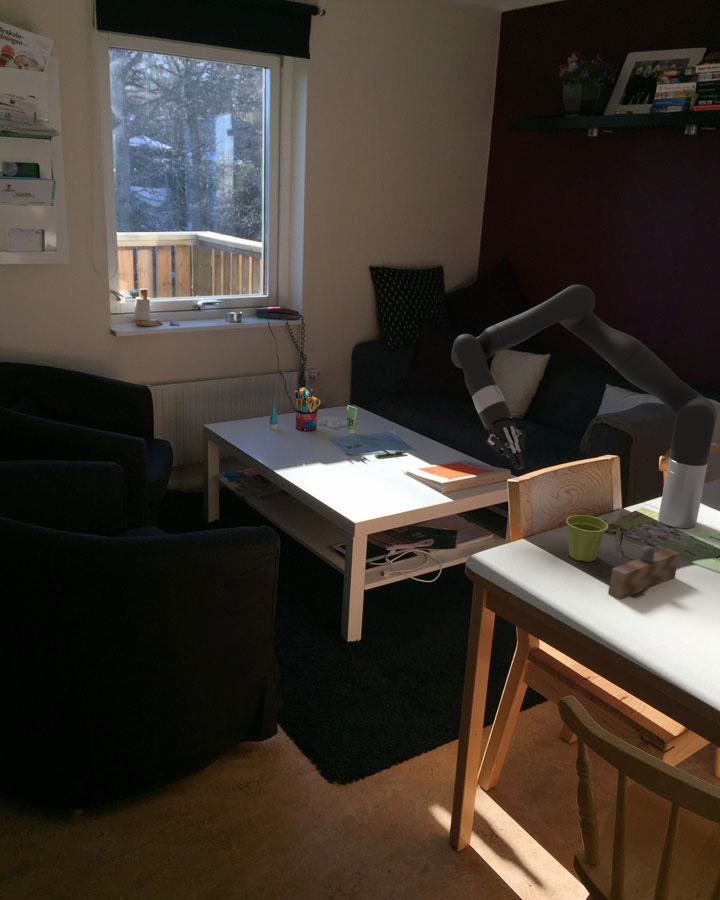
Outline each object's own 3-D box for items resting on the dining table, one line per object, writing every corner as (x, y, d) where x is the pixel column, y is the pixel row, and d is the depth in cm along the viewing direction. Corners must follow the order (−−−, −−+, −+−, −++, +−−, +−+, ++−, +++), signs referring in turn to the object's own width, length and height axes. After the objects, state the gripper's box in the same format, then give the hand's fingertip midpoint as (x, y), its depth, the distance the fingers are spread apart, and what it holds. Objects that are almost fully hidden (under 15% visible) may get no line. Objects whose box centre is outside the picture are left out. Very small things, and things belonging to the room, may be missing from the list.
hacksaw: (598, 522, 210) (599, 517, 209) (639, 530, 206) (640, 524, 206) (590, 559, 188) (591, 553, 187) (636, 568, 185) (637, 562, 184)
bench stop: (663, 572, 182) (669, 535, 180) (674, 577, 180) (681, 540, 177) (608, 593, 171) (614, 555, 168) (619, 599, 169) (626, 561, 166)
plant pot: (583, 568, 182) (588, 534, 179) (553, 552, 189) (557, 518, 187) (611, 560, 187) (617, 526, 184) (581, 545, 194) (586, 512, 192)
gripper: (500, 410, 210) (528, 470, 206) (464, 417, 202) (493, 478, 198) (518, 397, 205) (548, 457, 200) (482, 403, 197) (512, 466, 192)
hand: (520, 468), depth 199 cm, fingers closed
